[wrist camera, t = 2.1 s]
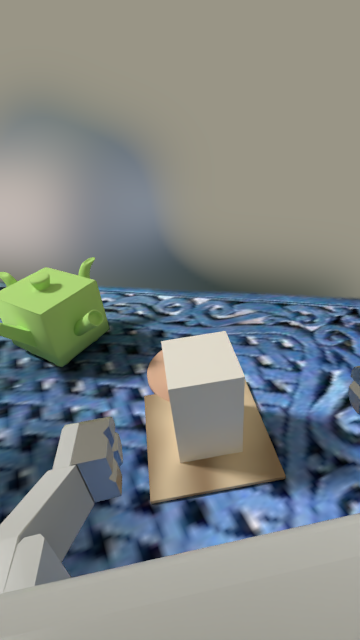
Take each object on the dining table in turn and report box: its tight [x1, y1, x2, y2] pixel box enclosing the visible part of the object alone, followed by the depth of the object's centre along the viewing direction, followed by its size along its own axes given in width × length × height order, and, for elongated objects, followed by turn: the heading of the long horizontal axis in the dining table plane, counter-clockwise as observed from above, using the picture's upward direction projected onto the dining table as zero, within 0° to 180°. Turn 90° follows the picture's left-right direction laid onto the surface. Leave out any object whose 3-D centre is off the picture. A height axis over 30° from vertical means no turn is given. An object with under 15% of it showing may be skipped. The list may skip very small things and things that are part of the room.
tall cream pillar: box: [161, 331, 245, 463], centre depth 30 cm, size 6×6×10 cm
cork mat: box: [144, 380, 286, 504], centre depth 33 cm, size 12×12×1 cm
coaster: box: [147, 351, 170, 402], centre depth 40 cm, size 11×11×1 cm
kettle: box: [0, 257, 110, 367], centre depth 45 cm, size 15×14×11 cm
